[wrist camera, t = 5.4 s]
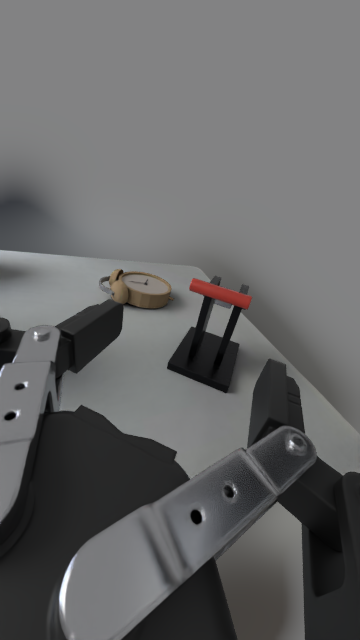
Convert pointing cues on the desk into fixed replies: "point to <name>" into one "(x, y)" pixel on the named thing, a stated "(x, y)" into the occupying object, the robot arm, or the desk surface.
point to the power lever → (220, 294)
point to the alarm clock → (137, 289)
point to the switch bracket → (208, 349)
